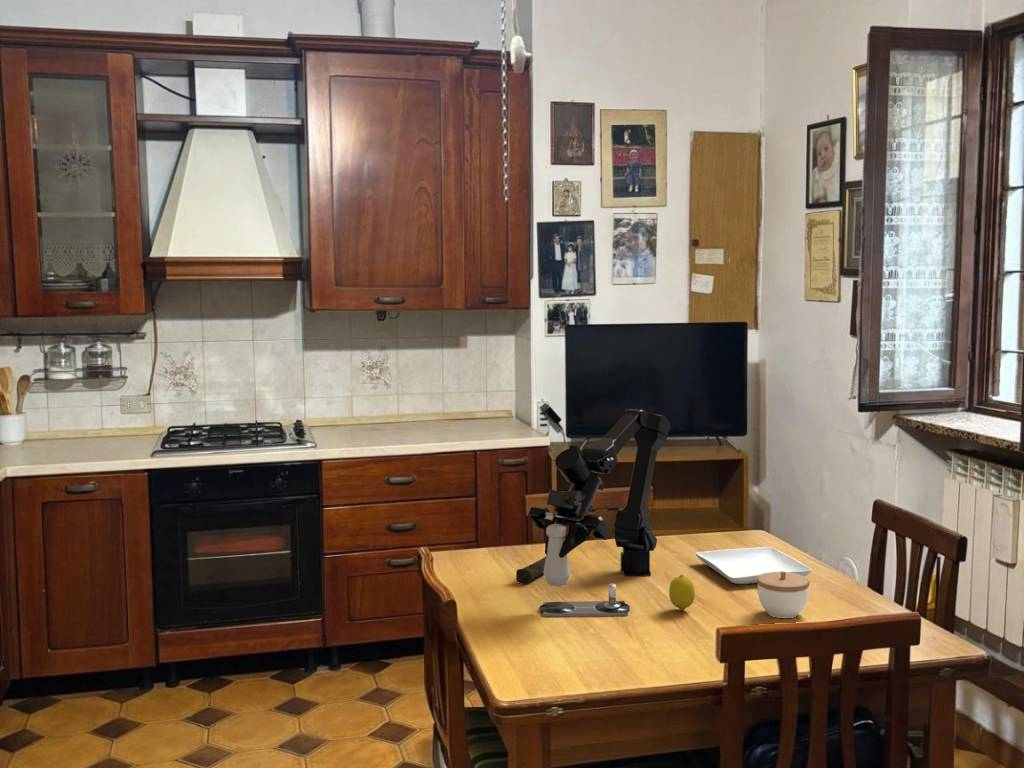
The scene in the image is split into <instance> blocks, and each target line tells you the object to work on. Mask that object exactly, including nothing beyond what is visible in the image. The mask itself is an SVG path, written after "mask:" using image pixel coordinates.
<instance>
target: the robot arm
mask: <svg viewBox="0 0 1024 768" xmlns="http://www.w3.org/2000/svg"><path fill="white" fill-rule="evenodd" d="M670 430H671V423H670V420H669V419H668V418H667V416H666V415H665V414H656V413H655V414H653V413H650V412H648V411H645V410H643V409H637V408H634V409H633V408H628V409H625V410H624V411H623V414H622V416H621V417H620V419H618V420H617V421H616V423H615V424H614V425H613V426H612V427H610V429H609V430H608V431H607V433H605V434H604V436H602V438H600V439H598V440H594V441H592V442H590V443H589V444H587V445H586V446H584V447H583V449H582V450H581V448H580V446H579V445H574V444H570V445H569V447H568V448H567V449H564V450H563V451H561V452H559V454H558V455H556V457H555V460H554V463H555V466H556V468H557V470H558V471H560V474H561V475H562V477H564V479H565V480H566V482H567V483H569V484H571V486H570V487H569V489H568V490H565V491H562V490H561V491H560V490H555V489H549V490H548V496H547V500H546V505H548V506H549V505H550V506H553V510H554V512H556V513H557V514H555V513H552V512H551V511H550V510H549V509H548V507H544V506H538V505H537V506H536V505H533V506H531V507H530V508H529V511H528V512H527V514H526V516H527V517H528V518H529V520H531V522H532V523H533V524H534V525H535V527H537V528H538V529H540V530H545V531H546V530H547V527H548V526H549V525H552V524H561V525H564V526H565V527H568V532H567V533H566V536H565V539H564V543H563V545H562V548H561V550H560V553H559V557H560V558H563V557H564V556H565V555H567V556H568V554H569V553H571V552H572V551H573V550H575V549H576V548H577V547H579V546H580V545H581V544H583V543H584V542H586V541H590V540H591V536H590V535H591V533H592V532H593V536H594V538H595V539H597V540H604V541H607V540H608V538H609V536H610V530H611V529H610V526H609V525H608V524H607V522H606V521H605V520H604V518H603V517H602V516H601V515H594V514H587V513H588V512H592V511H593V509H594V506H593V505H592V503H593V501H594V499H595V496H596V493H597V492H598V490H600V491H603V490H604V489H605V487H604V483H603V480H602V479H603V478H602V477H599V475H598V473H599V474H605V475H609V474H610V473H611V472H612V471H613V469H614V468H615V466H616V465H617V463H618V454H619V452H620V451H621V450H622V449H623V448H624V447H625V446H626V445H627V443H628V442H629V441H630V440H631V439H632V438H633V440H634V441H635V444H636V445H635V446H636V448H637V449H636V453H635V459H634V464H633V468H632V469H633V470H632V475H631V480H630V484H629V489H628V490H629V491H628V496H627V500H626V504H625V506H624V507H623V509H622V510H617V512H616V515H615V520H614V521H615V522H614V524H613V536H614V537H613V538H614V541H615V546H616V548H622V551H621V552H620V557H619V558H620V560H619V561H620V571H621V572H622V574H623V576H625V577H626V576H629V577H631V576H634V577H635V576H636V577H637V576H651V575H652V572H651V569H650V568H651V565H650V564H651V563H650V562H651V561H650V560H651V559H650V558H651V553H650V552H653V551H655V549H656V548H657V543H658V539H657V537H656V536H655V534H654V533H653V531H652V530H651V525H652V521H651V517H650V516H649V513H648V511H647V510H648V502H649V497H650V493H651V492H650V491H651V487H652V481H653V476H654V470H655V466H656V459H657V455H658V451H659V450H660V449H661V448H662V447H663V446H664V445H665V443H666V442H667V439H668V435H669V432H670ZM548 542H549V536H547V533H546V532H545V543H544V554H545V556H546V555H547V548H548Z"/></svg>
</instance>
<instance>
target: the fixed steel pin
mask: <svg viewBox="0 0 1024 768" xmlns="http://www.w3.org/2000/svg"><path fill="white" fill-rule="evenodd" d="M608 601H609V602H606V603H604V608H606V609H609V610H616V609H619V608H621V604H620V603H618V602H616V601H617V585H616V584H615V583H609V584H608Z"/></svg>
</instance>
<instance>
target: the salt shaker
mask: <svg viewBox="0 0 1024 768" xmlns="http://www.w3.org/2000/svg"><path fill="white" fill-rule="evenodd" d="M546 533H547V536H549V542H548V548H547V555H546V554H545V557H546V560H545V566H544V574H543V576H544V579H545V580H546V583H547V584H548V585H549V586H550V587H561V586H566V585H567V583H568V581H569V578H570V576H571V569H570V564H569V559H568V554H567V555H565V556H564V557H563V558H560V557H559V553H560V550H561V548H562V545H563V543H564V541H565V539H564V537H566V536H567V526H564V525H561V524H552V525H549V526H548V527H547V530H545V534H546Z"/></svg>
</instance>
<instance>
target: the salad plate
mask: <svg viewBox="0 0 1024 768" xmlns="http://www.w3.org/2000/svg"><path fill="white" fill-rule="evenodd" d="M695 556H696V558H698V559H699V560H700V561H701V562H703V564H705V565H706V566H708V567H710V568H711V569H713V570H714V571H715V572H716V573H718V574H720V575H721V576H722V577H724V578H726V580H728V581H729V582H731V583H733V584H735V585H750V584H749V583H752V584H758V583H757V578H758V576H759V575H761V574H764V573H769V572H781V571H785V572H789V573H795V574H799V575H802V576H804V577H806V576H808V575H810V574H812V572H813V568H811V567H809V566H807V565H805V564H803V562H800V561H798V560H797V559H795V558H793V557H792V556H790V555H788V554H785V552H782V551H780V550H779V549H777V548H775V547H773V546H772V547H771V546H760V547H744V548H729V549H728V548H727V549H715V550H708V551H697V552H695Z"/></svg>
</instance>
